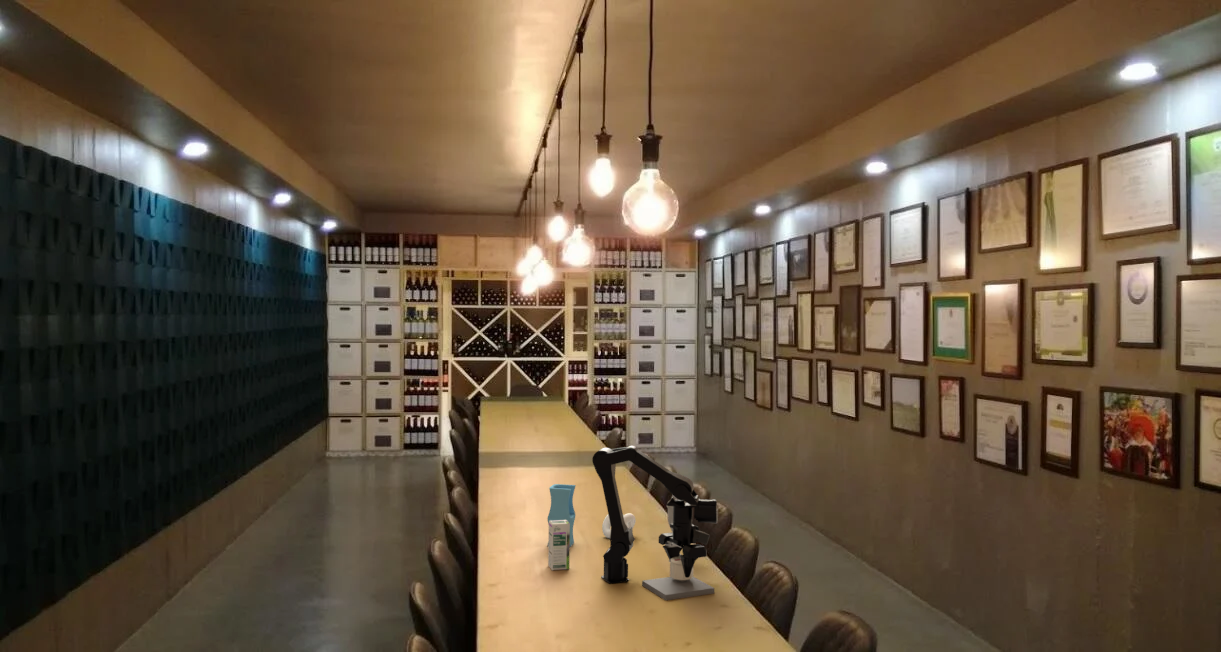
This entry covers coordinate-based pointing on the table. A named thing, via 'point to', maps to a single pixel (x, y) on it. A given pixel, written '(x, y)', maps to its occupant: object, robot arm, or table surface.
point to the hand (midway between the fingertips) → (681, 574)
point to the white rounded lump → (628, 520)
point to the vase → (562, 505)
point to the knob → (678, 569)
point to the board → (677, 587)
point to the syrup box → (559, 544)
